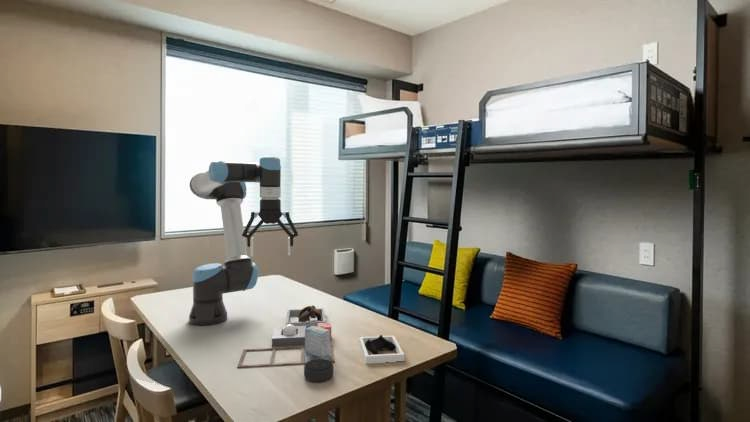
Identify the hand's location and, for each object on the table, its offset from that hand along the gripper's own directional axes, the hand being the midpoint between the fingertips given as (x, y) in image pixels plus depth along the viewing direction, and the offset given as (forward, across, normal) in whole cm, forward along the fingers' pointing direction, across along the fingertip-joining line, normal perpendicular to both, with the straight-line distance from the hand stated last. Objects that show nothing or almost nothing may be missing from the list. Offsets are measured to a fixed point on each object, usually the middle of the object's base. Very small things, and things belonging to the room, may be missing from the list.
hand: (270, 255), depth 157 cm
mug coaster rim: (+32, +13, +17) cm, 38 cm away
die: (+32, +20, -3) cm, 38 cm away
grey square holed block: (+32, +7, -3) cm, 33 cm away
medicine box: (+32, +17, -18) cm, 40 cm away
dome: (+31, +7, -3) cm, 32 cm away
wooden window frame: (+32, +7, -18) cm, 37 cm away
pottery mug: (+32, +15, +15) cm, 38 cm away
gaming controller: (+32, +39, -19) cm, 54 cm away
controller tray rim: (+32, +39, -19) cm, 54 cm away
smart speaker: (+32, +17, -34) cm, 50 cm away
